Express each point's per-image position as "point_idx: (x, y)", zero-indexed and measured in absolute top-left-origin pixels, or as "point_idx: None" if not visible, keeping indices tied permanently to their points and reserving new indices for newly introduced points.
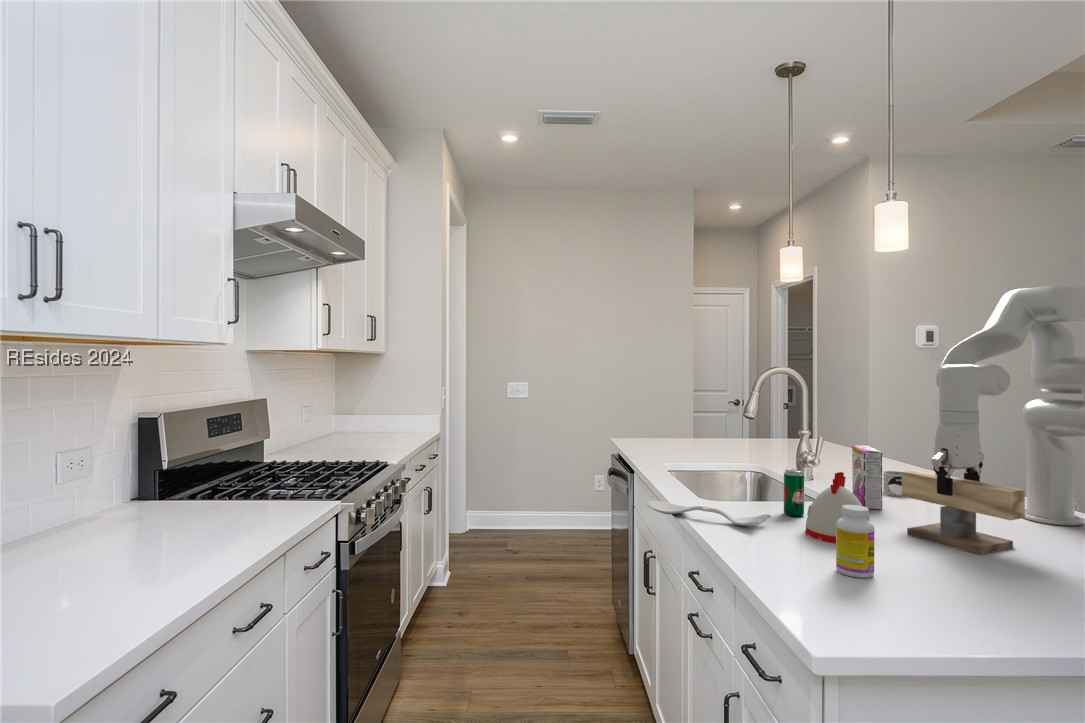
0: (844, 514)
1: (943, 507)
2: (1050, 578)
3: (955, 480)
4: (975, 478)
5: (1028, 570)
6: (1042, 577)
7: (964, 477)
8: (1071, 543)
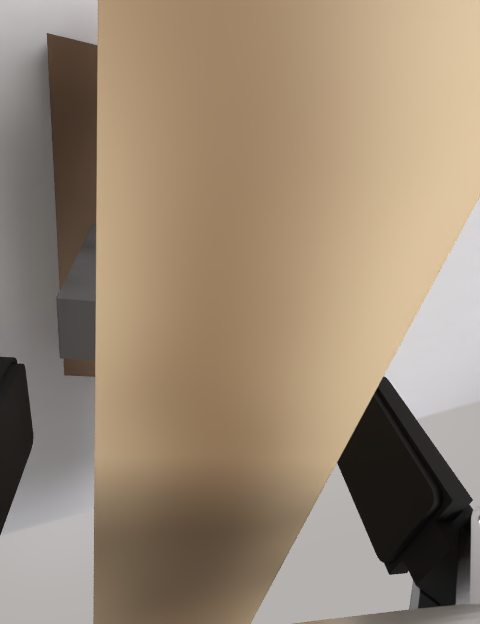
0: None
1: (61, 314)
2: (46, 493)
3: (170, 501)
4: (376, 528)
5: (58, 459)
6: (34, 486)
7: (411, 463)
8: (431, 408)
